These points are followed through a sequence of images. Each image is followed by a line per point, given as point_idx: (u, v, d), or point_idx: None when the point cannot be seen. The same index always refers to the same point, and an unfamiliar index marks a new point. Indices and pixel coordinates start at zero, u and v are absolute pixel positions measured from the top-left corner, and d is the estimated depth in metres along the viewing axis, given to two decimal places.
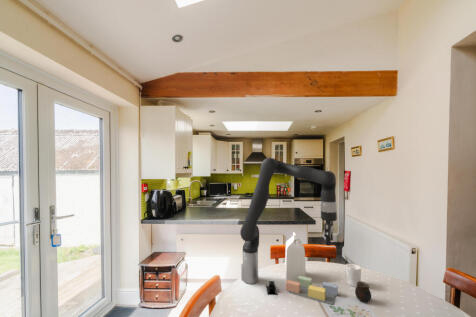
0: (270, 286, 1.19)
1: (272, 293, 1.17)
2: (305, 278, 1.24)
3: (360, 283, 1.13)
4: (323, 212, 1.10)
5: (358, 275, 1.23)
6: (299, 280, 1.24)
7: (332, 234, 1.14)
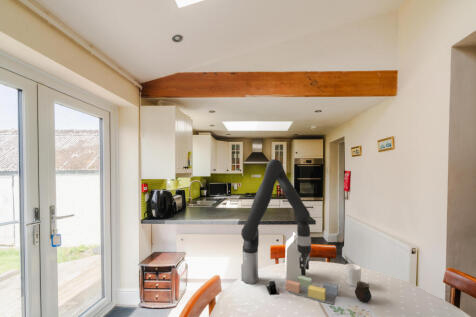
0: (271, 286, 1.19)
1: (274, 293, 1.17)
2: (305, 278, 1.24)
3: (360, 283, 1.13)
4: (299, 245, 1.24)
5: (358, 275, 1.23)
6: (299, 280, 1.24)
7: (308, 264, 1.27)
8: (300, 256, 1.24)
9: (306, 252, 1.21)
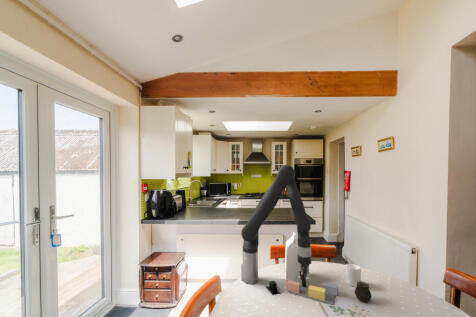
0: (273, 286, 1.19)
1: (276, 293, 1.17)
2: None
3: (360, 283, 1.13)
4: (299, 256, 1.23)
5: (358, 275, 1.23)
6: (299, 279, 1.24)
7: None
8: (300, 268, 1.24)
9: (306, 263, 1.21)
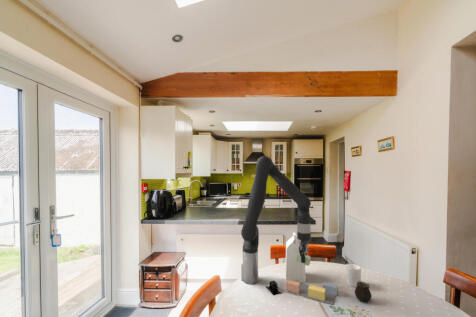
0: (273, 286, 1.19)
1: (276, 292, 1.17)
2: None
3: (360, 283, 1.13)
4: (299, 232, 1.24)
5: (358, 275, 1.23)
6: (298, 257, 1.25)
7: None
8: None
9: (306, 239, 1.22)
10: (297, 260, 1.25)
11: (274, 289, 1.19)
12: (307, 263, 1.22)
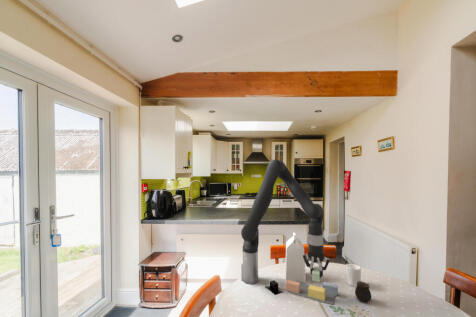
0: (274, 286, 1.19)
1: (278, 292, 1.18)
2: (316, 270, 1.14)
3: (360, 283, 1.13)
4: None
5: (358, 275, 1.23)
6: (314, 268, 1.17)
7: None
8: None
9: (308, 250, 1.15)
10: None
11: (275, 289, 1.19)
12: None
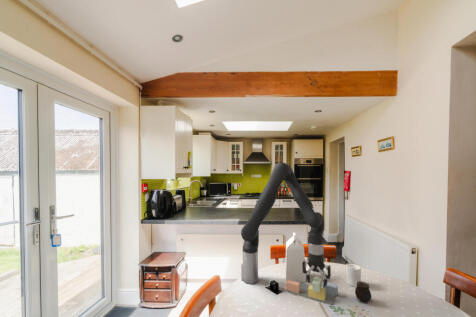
0: (275, 286, 1.19)
1: (279, 292, 1.18)
2: (316, 280, 1.14)
3: (360, 283, 1.13)
4: None
5: (358, 275, 1.23)
6: None
7: None
8: None
9: (309, 259, 1.14)
10: None
11: (276, 289, 1.19)
12: None
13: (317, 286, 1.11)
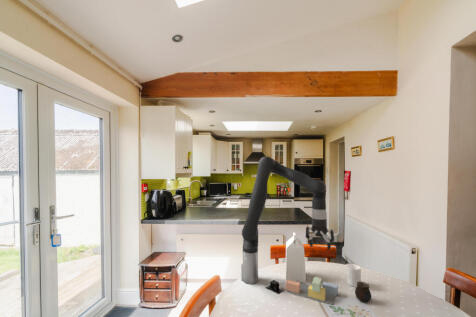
0: (276, 285, 1.19)
1: (280, 291, 1.19)
2: (316, 280, 1.14)
3: (360, 283, 1.13)
4: None
5: (358, 275, 1.23)
6: None
7: (327, 243, 1.15)
8: None
9: (312, 224, 1.18)
10: None
11: (277, 288, 1.19)
12: None
13: (317, 286, 1.11)
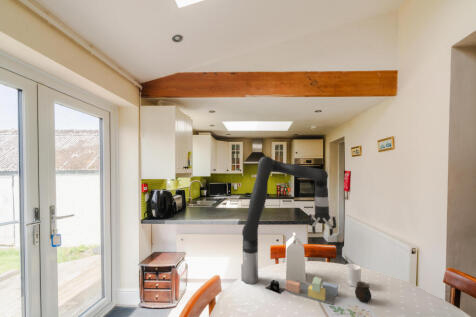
0: (277, 285, 1.20)
1: (280, 290, 1.19)
2: (316, 280, 1.14)
3: (360, 283, 1.13)
4: None
5: (358, 275, 1.23)
6: None
7: None
8: None
9: (315, 212, 1.22)
10: None
11: (277, 288, 1.20)
12: None
13: (317, 286, 1.11)
